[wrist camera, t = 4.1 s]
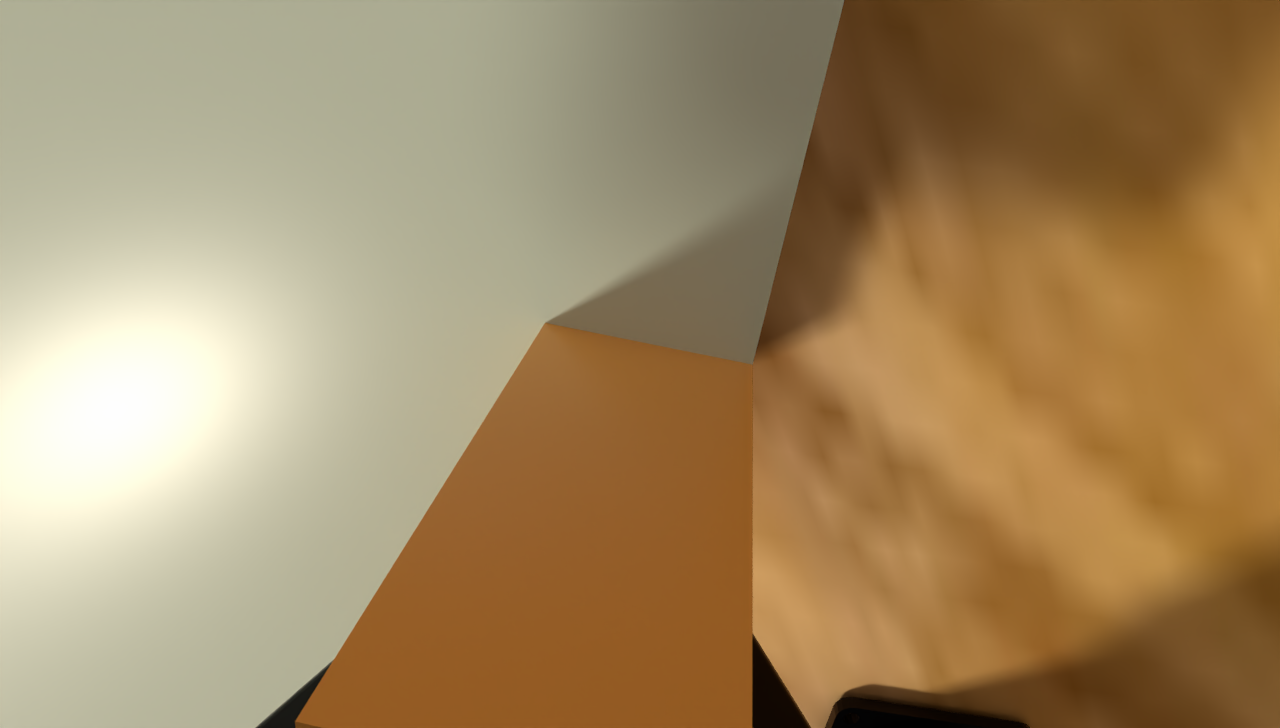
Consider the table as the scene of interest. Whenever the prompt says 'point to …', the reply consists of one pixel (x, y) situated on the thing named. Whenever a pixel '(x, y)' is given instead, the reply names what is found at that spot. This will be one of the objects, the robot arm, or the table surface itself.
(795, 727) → the robot arm
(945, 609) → the table surface
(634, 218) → the lid
